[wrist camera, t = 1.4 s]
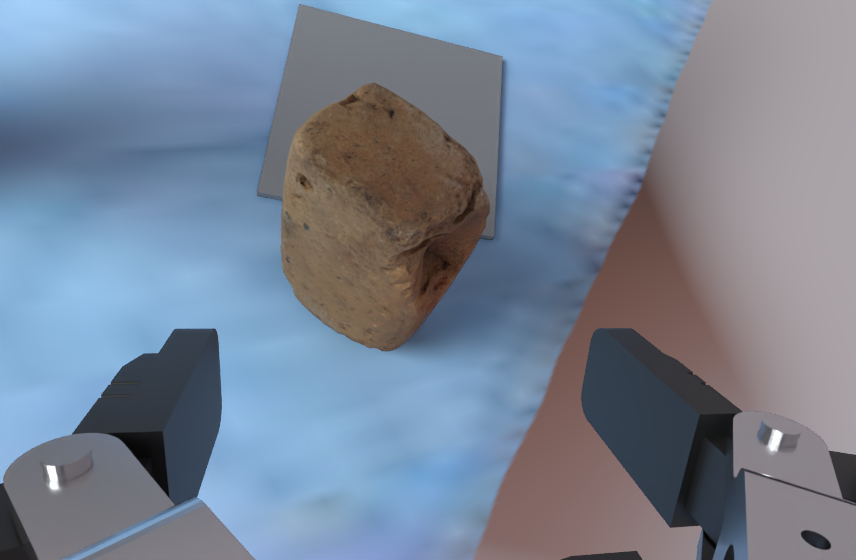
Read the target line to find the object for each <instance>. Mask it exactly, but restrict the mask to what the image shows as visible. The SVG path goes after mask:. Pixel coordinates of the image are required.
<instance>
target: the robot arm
mask: <svg viewBox="0 0 856 560" xmlns="http://www.w3.org/2000/svg"><path fill="white" fill-rule="evenodd" d="M581 399H582V407H583V411H584V414H585V416H586V419H587V420H588V422H589V423H590V424H591V425H592V427H593V428H594V429H595V430H596V432H597V433H598V434H599V436H600V437H601V438H602V440H603V441H604V442H605V444H606V445H607V446H608V448H609V449H610V450H611V451H612V453H613V454H614V455H615V457H616V458H617V459H618V461H619V462H620V463H621V464H622V466H623V467H624V468H625V470H626V471H627V472H628V473H629V475H630V476H631V477H632V478H633V480H634V481H635V483H636V484H637V485H638V486H639V488H640V489H641V490H642V492H643V493H644V494H645V496H646V497H647V498H648V499H649V501H650V502H651V503H652V505H653V506H654V507H655V508H656V510H657V511H658V512H659V514H660V515H661V516H662V518H663V519H664V520H665V521H666V523H667V524H668V525H669V527H685V526H699V525H700V526H701V527H702V531H701V534H700V538H699V541H698V545H697V557H696V560H856V455H853V454H846V453H840V452H833V451H829V450H828V447H827V445H826V443H825V442H824V440H823V439H822V438H821V437H820V436H818V435H817V434H816V433H814V432H813V431H812V430H810V429H809V428H807V427H805V426H803V425H801V424H799V423H797V422H795V421H793V420H790V419H788V418H785V417H782V416H778V415H775V414H771V413H766V412H759V411H745V412H742V411H741V410H740V409H739V408H737V407H736V406H735V405H733V404H732V403H731V402H730V401H728V400H727V399H726V398H725V397H723V396H722V395H721V394H720V393H718V392H717V391H716V390H714V389H713V388H712V387H711V386H709V385H706V384H705V382H704V381H703V380H702V379H701V378H699V377H698V376H696V375H693V373H692V371H690V370H689V369H688V368H687V367H685V366H684V365H683V364H682V363H680V362H679V361H678V360H676V359H674V358H672V357H670V356H668V355H666V354H664V353H662V352H661V351H660V350H658V349H657V348H656V347H655V346H654V345H652V344H651V343H650V342H648V341H647V340H646V339H645V338H643V337H642V336H641V335H640V334H639V333H637V332H636V331H635V330H633V329H630V328H615V329H614V328H613V329H612V328H604V329H603V328H600V329H597V330H596V331H595V332H594V333H593V336H592V338H591V343H590V348H589V354H588V360H587V365H586V370H585V376H584V382H583V388H582V396H581ZM221 410H222V397H221V379H220V361H219V343H218V335H217V331H216V329H174V330H173V332H172V333H171V335H170V336H169V338H168V340H167V341H166V343H165V344H164V346H163V347H162V349H161V350H160V352H159V353H151V354H142V355H141V356H139V357H138V358H136V359H134V360H133V361H131V362H129V363H128V364H126V365H124V366H123V367H122V368H121V369H120V371H119V372H118V373H117V375H116V376H115V377H114V379H113V380H112V381H111V385H108V387H107V388H106V389H105V391H104V392H103V393H102V395H101V398H99V399H98V400H97V401H96V403H95V404H94V405H93V407H92V408H91V409H90V411H89V412H88V413H87V415H86V416H85V417H84V419H83V420H82V421H81V423H80V424H79V425H78V427H77V428H76V429H75V431H74V432H73V433H72V435H69V436H64V437H60V438H57V439H54V440H51V441H48V442H45V443H43V444H41V445H39V446H36V447H34V448H32V449H31V450H29V451H27V452H26V453H24V454H23V455H21V456H20V457H19V458H17V459H16V460H15V461H14V462H13V463H12V464H11V465H10V466H9V468H8V469H7V470H6V472H5V474H4V478H3V483H2V484H0V560H255V559H254V558H253V557H252V555H251V554H250V553H249V552H248V551H247V550H246V549H245V548H244V547H243V545H242V544H241V543H240V542H239V541H238V540H237V539H236V538H235V536H234V535H233V534H232V533H231V532H230V531H229V530H228V529H227V528H226V526H225V525H224V524H223V523H222V522H221V521H220V520H219V519H218V517H217V516H216V515H215V514H214V513H213V512H212V511H211V510H210V509H209V507H208V506H207V505H206V504H205V503H204V502H203V501H202V500H200V499H199V498H197V495H198V492H199V489H200V486H201V483H202V480H203V477H204V474H205V471H206V468H207V465H208V462H209V459H210V456H211V453H212V450H213V447H214V444H215V441H216V438H217V434H218V431H219V427H220V421H221ZM562 560H642V558H641V557H640V556H639V554H638V552H637V551H630V552H618V553H605V554H593V555H580V556H570V557H567V558H565V559H562Z"/></svg>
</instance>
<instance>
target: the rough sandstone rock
mask: <svg viewBox="0 0 856 560" xmlns="http://www.w3.org/2000/svg"><path fill="white" fill-rule="evenodd" d="M489 213H490V202H489V199H488V196H487V194H486V192H485V191H484V189H483V177H482V175H481V172H480V170H479V167H478V165H477V162H476V160H475V158H474V157H473V156H472V155H471V154H470V153H469V152H468V150H467V149H466V148H465V147H463V146H462V145H461V144H460V143H459V142H457V141H456V140H455V139H453V138H452V137H450V136H449V135H448V134H447V133H446V132H445V131H444V130H443V129H442V128H441V126H440V125H439V124H438V123H436V122H435V121H433V120H432V119H431V118H430V117H429V116H428V115H427V114H426V113H424V112H423V111H421V110H420V109H418V108H417V107H415V106H414V105H412V104H411V103H409V102H408V101H406V100H405V99H403V98H402V97H400V96H398V95H397V94H395V93H393V92H392V91H390V90H388V89H387V88H385V87H383V86H381V85H379V84H377V83H375V82H374V83H368V84H365V85H363V86H361V87H360V88H359V89H358V90H356V91H355V92H354V93H352V94H350V95H348V96H347V97H346V98H345V99H344V100H342V101H340V102H335V103H332V104H330V105H328V106H326V107H325V108H323V109H321V110H319V111H318V112H316V113H314V114H313V115H312V116H311V117H310V118H309V119H308V120H307V121H306V122H305V123H304V124H303V125H302V126H301V127H300V128H299V129H298V130H297V131H296V133H295V135H294V138H293V141H292V144H291V147H290V151H289V155H288V159H287V167H286V173H285V179H284V188H283V201H282V216H281V254H282V268H283V272H284V274H285V276H286V278H287V279H288V281H289V282H290V284H291V285H292V288H293V292H294V294H295V296H296V298H297V299H298V300H299V301H300V302H301V303H302V304H303V305H304V306H305V307H306V308H307V309H308V310H309V311H310V312H311V313H312V314H313V315H315V316H316V317H317V318H319V319H320V320H321V321H322V322H323V323H324V324H325V325H327V326H329V327H330V328H332V329H333V330H335V331H336V332H338V333H340V334H344V335H345V336H347V337H348V338H349V339H351V340H353V341H355V342H358V343H360V344H363V345H365V346H366V347H368V348H378V349H379V350H381V351H391V350H394V349H397V348H398V347H399V346H401V345H402V344H404V343H405V342H406V341H407V340H408V339H409V338H410V337H411V336H412V335H413V334H414V333H415V332H416V331H417V330H418V329H419V328H420V326H421V325H422V324H423V322H424V321H425V320H426V318H427V317H428V316H429V314H430V313H431V312H432V310H433V309H434V308H435V306H436V305H437V303H438V302H439V301H440V299H441V298H442V297H443V295H444V294H445V293H446V291H447V290H448V288H449V287H450V285H451V284H452V282H453V281H454V279H455V278H456V276H457V274H458V273H459V271H460V270H461V268H462V267H463V265H464V264H465V262H466V260H467V259H468V258H469V256H470V255H471V253H472V251H473V250H474V248H475V246H476V244H477V242H478V240H479V238H480V236H481V234H482V232H483V231H484V229H485V227H486V222H487V221H486V219H487V217H488V215H489Z"/></svg>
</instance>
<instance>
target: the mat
mask: <svg viewBox="0 0 856 560" xmlns="http://www.w3.org/2000/svg"><path fill="white" fill-rule="evenodd" d="M501 77H502V56H499V55H495V54H491V53H487V52H483V51H479V50H476V49H472V48H468V47H464V46H460V45H456V44H452V43H448V42H445V41H441V40H437V39H433V38H429V37H425V36H421V35H417V34H413V33H410V32H406V31H402V30H398V29H394V28H390V27H386V26H382V25H379V24H375V23H371V22H367V21H363V20H359V19H355V18H351V17H348V16H344V15H340V14H336V13H332V12H328V11H324V10H320V9H317V8H313V7H309V6H305V5H301V4H299V8H298V12H297V17H296V21H295V25H294V30H293V34H292V39H291V43H290V48H289V52H288V56H287V61H286V65H285V70H284V74H283V79H282V83H281V88H280V92H279V96H278V101H277V105H276V110H275V114H274V119H273V123H272V127H271V132H270V136H269V141H268V145H267V150H266V154H265V158H264V163H263V167H262V172H261V176H260V181H259V185H258V189H257V196H262V197H267V198H272V199H278V200H283V188H284V179H285V173H286V167H287V159H288V155H289V151H290V147H291V144H292V141H293V138H294V135H295V133H296V131H297V130H298V129H299V128H300V127H301V126H302V125H303V124H304V123H305V122H306V121H307V120H308V119H309V118H310V117H311V116H312V115H313V114H314V113H316V112H318V111H319V110H321V109H323V108H325V107H326V106H328V105H330V104H332V103H335V102H340V101H342V100H344V99H345V98H346V97H347V96H348V95H350V94H352V93H354V92H355V91H356V90H358V89H359V88H360V87H361V86H363V85H365V84H368V83H374V82H375V83H377V84H379V85H381V86H383V87H385V88H387V89H388V90H390V91H392V92H393V93H395V94H397V95H398V96H400V97H402V98H403V99H405V100H406V101H408V102H409V103H411V104H412V105H414V106H415V107H417V108H418V109H420V110H421V111H423V112H424V113H426V114H427V115H428V116H429V117H430V118H431V119H432V120H433V121H435V122H436V123H438V124H439V125H440V126H441V128H442V129H443V130H444V131H445V132H446V133H447V134H448V135H449V136H450V137H452V138H453V139H455V140H456V141H457V142H459V143H460V144H461V145H462V146H463V147H465V148H466V149H467V150H468V152H469V153H470V154H471V155H472V156H473V157H474V158H475V160H476V162H477V165H478V167H479V170H480V172H481V175H482V177H483V189H484V191H485V192H486V194H487V196H488V199H489V202H490V213H489V215H488V217H487V219H486V221H487V222H486V227H485V229H484V231H483V232H482V234H481V236H480V238H485V239H490V240H492V239H493V238H494V232H495V210H496V188H497V166H498V144H499V122H500V100H501Z"/></svg>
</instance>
